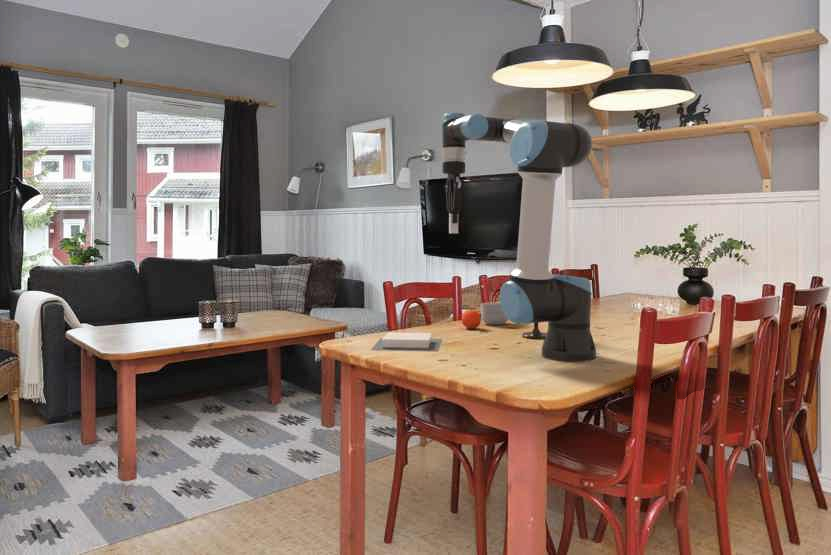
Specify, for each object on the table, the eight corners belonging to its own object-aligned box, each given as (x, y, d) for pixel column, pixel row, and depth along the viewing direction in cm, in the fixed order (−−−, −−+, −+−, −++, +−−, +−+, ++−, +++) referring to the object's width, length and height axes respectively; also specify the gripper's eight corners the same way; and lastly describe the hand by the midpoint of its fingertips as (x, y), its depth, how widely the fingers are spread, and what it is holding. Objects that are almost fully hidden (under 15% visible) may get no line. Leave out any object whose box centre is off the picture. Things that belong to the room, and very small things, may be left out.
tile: (387, 332, 208) (381, 339, 196) (431, 333, 207) (428, 340, 195) (387, 340, 209) (381, 348, 197) (431, 341, 207) (428, 349, 195)
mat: (380, 339, 214) (380, 337, 214) (442, 340, 212) (442, 338, 212) (370, 351, 194) (370, 349, 194) (437, 353, 192) (437, 351, 192)
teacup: (485, 326, 239) (485, 305, 239) (476, 322, 250) (476, 301, 249) (521, 325, 242) (521, 304, 241) (511, 321, 253) (511, 300, 252)
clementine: (457, 330, 233) (457, 310, 232) (460, 326, 239) (460, 307, 239) (479, 330, 231) (479, 310, 230) (482, 327, 237) (482, 308, 237)
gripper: (471, 159, 211) (470, 233, 213) (458, 163, 223) (458, 232, 225) (448, 159, 209) (448, 233, 211) (437, 162, 221) (437, 233, 223)
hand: (453, 233), depth 218 cm, fingers closed
